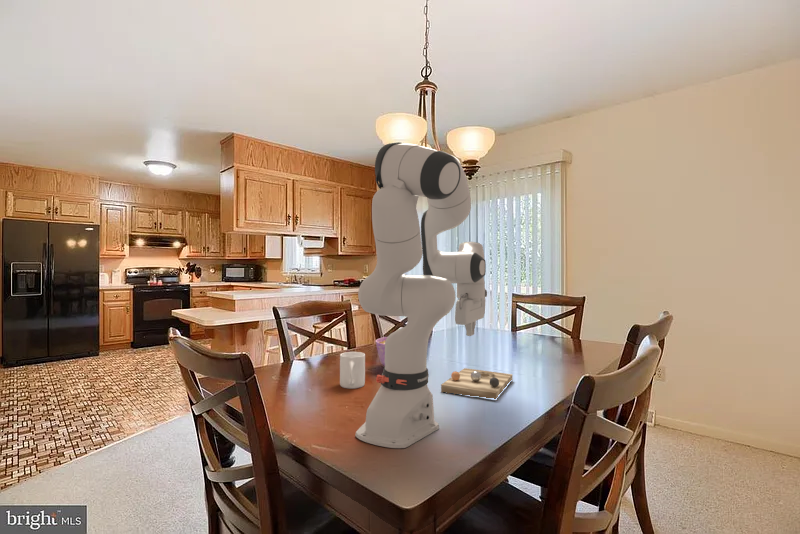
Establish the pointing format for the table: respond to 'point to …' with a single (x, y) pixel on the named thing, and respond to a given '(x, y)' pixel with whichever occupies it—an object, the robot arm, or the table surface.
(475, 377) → the ball
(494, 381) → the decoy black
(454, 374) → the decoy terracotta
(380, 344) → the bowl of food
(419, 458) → the table surface
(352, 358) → the mug
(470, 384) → the board
